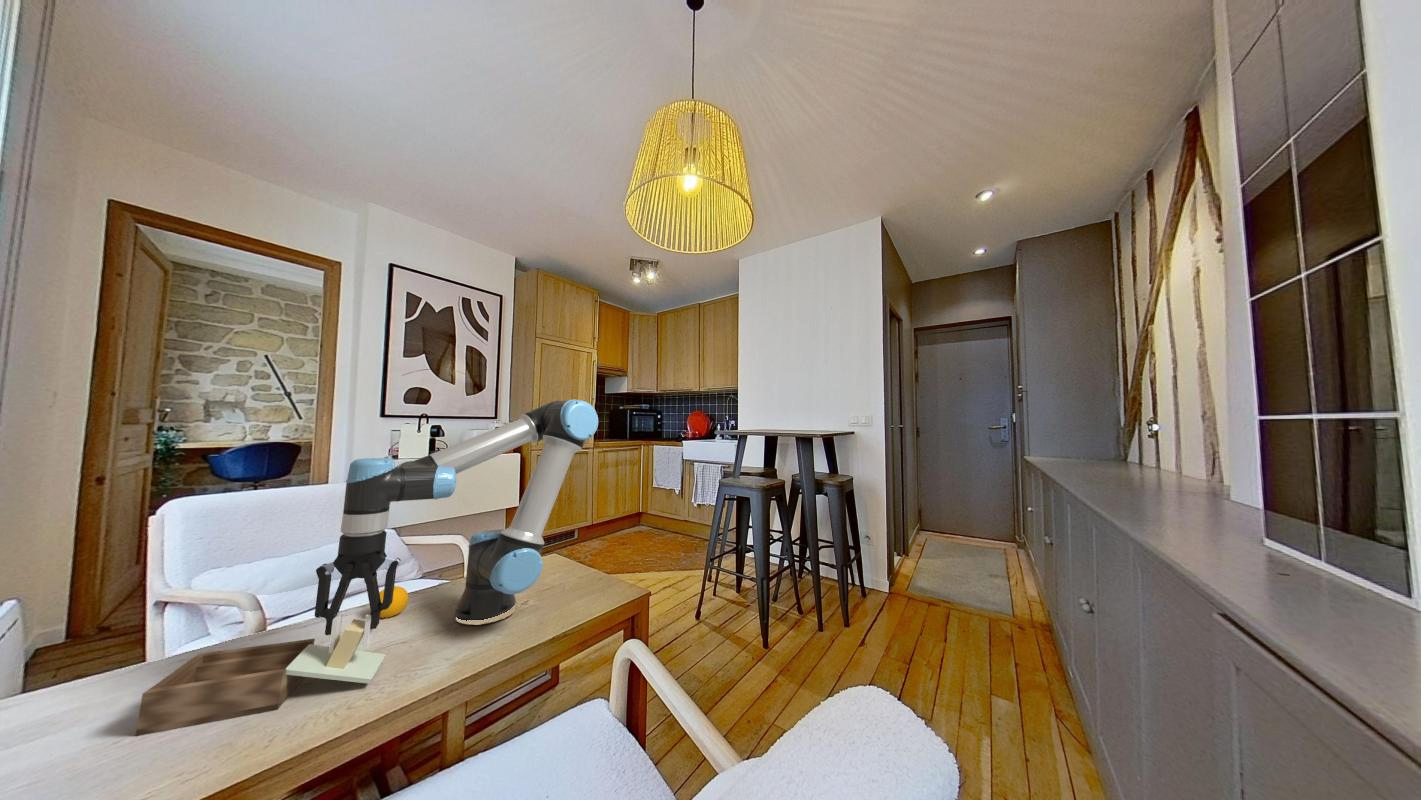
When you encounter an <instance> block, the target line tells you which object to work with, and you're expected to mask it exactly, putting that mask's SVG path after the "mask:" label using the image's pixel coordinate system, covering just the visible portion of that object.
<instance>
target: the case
mask: <svg viewBox="0 0 1421 800" xmlns="http://www.w3.org/2000/svg"><path fill="white" fill-rule="evenodd" d="M315 639H316V638H310V639H309V638H308V639H302V640H294V641H293V640H292V641H285V642H278V643H271V644H265V645H254V646H249V647H247V646H246V647H240V648H239V647H238V648H233V649H225V650H217V651H212V652H211V651H209V652H203V653H198V654H197V655H195V656H194V657H192V658H191V659H190V660H188V661H187V662H185V663H183V664H182V665H181V666H179V667H178V668H177V669H175V670H174V671H173V672H171V673H169V674H168V675H167V676H165V677H164V678H163V679H162V680H160V681H159V682H157V683H156V684H155V685H153V686H151V687H149V689H147V690H145V692H143V693H142V694H141V695H142V696H141V701H140V705H139V706H140V707H139V713H138V719H137V724H136V730H135V735H134V736H135V737H138V736H143V735H148V734H155V733H160V732H164V731H171V730H176V729H181V728H186V727H192V726H197V725H203V724H208V723H212V722H213V723H214V722H217V721H223V720H230V719H235V718H240V717H245V716H251V715H257V714H261V713H268V712H272V711H277V710H279V709H280V708H281V706H282V705H283V704H284V703H285V702H286V701H287V699H288V698H289V697H290V696H291V694H292V693H293V692H295V690H296V689H297V688H298V686H299V685H300V684H302V681H303V680H304V679H305V678H306V677H304V676H294V675H285V674H286V668H287V667H288V666H289V665H290V664H291V663H292V662H293V660H294V659H295V658H296V657H297V656H298V655H299V654H300V653H301V652H302V651H303V650H304V649H305V648H306V647H307V646H308V645H309V644H312V645H315V641H316V640H315Z"/></svg>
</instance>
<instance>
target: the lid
mask: <svg viewBox="0 0 1421 800" xmlns="http://www.w3.org/2000/svg"><path fill="white" fill-rule="evenodd" d="M364 629H365V620H364V619H363V620H361V619H356V618H355V619H352V621H351V622H350V623H349V624H348V626H347V627H345V629H344V630H343V632H342V635H340V640H339V642H338V644H337V646H336V648H335V650H334V652H333V653H330V654H329V646H325V645H320V644H319V645H318V644H314V645H312V644H309V645H308V646H307V647H306V648H305V649H304V650H303V651H302V652H301V653H300V654H299V655H298V656H297V657H296V658H295V659H294V660H293V662H292V663H291V664H290V665H289V666H288V667H287V668H286V674H285V675H294V676H304V677H305V678H313V679H314V678H315V679H323V680H331V681H332V680H334V681H340V682H342V681H343V682H350V683H352V682H353V683H361V684H370V683H371V681H372V680H373V678H374V677H375V675H376V673H377V671H378V670H379V668H380V666H381V664H382V663H383V661H384V659H385V657H386V655H387V654H386V653H379V652H370V651H363V650H357V649H358V648H359V645H360V643H361V641H362V639H363V637H364Z"/></svg>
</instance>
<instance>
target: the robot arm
mask: <svg viewBox="0 0 1421 800" xmlns="http://www.w3.org/2000/svg"><path fill="white" fill-rule="evenodd" d="M598 416H599V415H598V414H597V411H596V409H595V407H594V406H593V405H592V404H590V402H587V401H584V400H580V399H569V400H555V401H551V402H548V403H546V404H543V405H540V406H539V407H537V408H534V409H532V410H530V411H527V412H525V413H522V414H521V415H520V416H519V419H516V420H514V421H511V422H509V423H506V424H504V425H501V426H499V427H496V428H493V429H492V430H489V431H486V432H483V433H482V434H479V435H476V436H473V437H471V438H468V439H466V440H464V441H461V442H459V443H456V444H453V445H451V446H448V447H445V448H444V449H440V450H438V451H435V452H433V453H430V454H428V455H426V456H423V457H419V458H418V459H415V460H414V461H413V460H409V461H405V462H401V463H399V464H398V465H397V466H396V463H395V460H394V459H393V458H384V457H383V458H382V457H380V458H379V457H376V458H375V457H374V458H373V457H370V458H369V457H367V458H365V457H364V458H357V459H354V460H353V461H351V463H350V464H349V469H348V473H347V477H346V481H345V482H346V483H345V493H344V503H343V511H342V518H341V526H340V532H341V535H340V537H339V541H338V543H339V544H338V550H337V556H336V558H335V559H334V560H333V561H332V562H328V563H323V564H322V565H320V566H319V567H317V568H316V569H315V573H316V575H317V578H318V583H317V591H316V592H317V593H316V600H315V609H314V617H315V618H318V619H319V618H324V619H325V621H326V622H325V628H324V629H325V630H324V634H325V636H330V639H329V646H328V647H329V654H330V653H333V652H334V650H335V648H336V646H337V644H338V642H339V640H340V638H341V631H342V623H343V614H344V613H340V609H341V606H342V604H343V601H344V598H345V596H346V594H347V592H348V589H349V586H350V584H351V582H352V580H354V579H363V582H364V584H365V586H366V587H365V588H366V591H367V597H368V602H369V604H368V605H369V607H370V608H369V609H370V610H369V612H367V614H366V615H365V620H364V621H365V629H364V635H363V637H362V639H363V640H362V649H367V648H368V647H369V645H370V644H371V642H372V637H373V630H374V629H375V630H376V629H377V628H378V626H379V624H380V619H381V617H380V612H381V611H382V610H386V609H388V608H389V606H390V605H391V604H392V601H393V592H394V586H395V582H396V574H397V569H398V567H399V565H400V563H401V559H400V558H398V557H397V558H395V559H394V558H391V557H388V556H387V554H386V551H385V550H386V543H387V542H386V541H387V531H386V529H388V526H389V525H388V524H389V515H390V505H391V502H394V503H395V502H405V501H420V500H421V501H423V500H438V499H439V500H440V499H445V498H450V497H451V496H452V495H453V494H454V493H455V490H456V486H457V474H459V473H462V472H464V471H466V470H468V469H471V468H473V467H476V466H478V465H480V464H482V463H484V462H487V461H489V460H491V459H493V458H496V457H499V456H500V455H502V454H505V453H508V452H509V451H512V450H513V449H516V448H518V447H522V446H523V445H525V444H527V443H532V444H535V443H538V442H541V441H544V446H543V448H542V451H541V454H540V456H539V457H538V460H537V462H536V465H535V467H534V469H533V472H532V474H531V476H530V478H529V481H528V483H527V486H526V488H525V491H524V493H523V495H522V497H521V500H520V501H519V505H518V506H517V508H516V512H515V514H514V516H513V519H512V521H511V523H510V525H509V527H507V528H502V529H493V530H483V531H479V532H475V533H473V534H472V535H471V536H470V539H469V545H468V555H467V566H466V567H467V568H466V578H465V587H464V591H463V592H462V595H461V596H460V600H459V601H458V604H457V606H456V609H455V614H454V617H455V616H456V617H457V618H458V619H461V620H466V621H467V620H484V619H488V618H492V617H495V616H498V615H500V614H502V613H505V612H507V611H508V610H510V609H511V608H512V607H513V606H514V605H515V603H516V604H517V600H516V596H515V595H516V594H520V593H522V592H525V591H526V590H527V589H529V588H531V587H533V585H534V584H535V583H536V582H537V581H538V579H539V577H540V576H541V574H542V571H543V566H544V564H543V563H544V561H543V558H542V555H541V553H542V551H543V547H544V546H545V541H544V538H543V533H544V530H545V528H546V525H547V523H548V520H549V519H550V515H551V512H552V510H553V507H554V505H555V502H556V500H557V497H558V495H559V492H560V490H561V488H562V485H563V483H564V480H565V478H566V475H567V473H568V471H569V467H570V465H571V463H572V460H573V457H574V455H575V454H576V453H578V452H581V451H582V449H583V447H584V444H585V442H586V440H588V439H589V438H592V437H593V436H594V434H595V433H596V431H597V430H598V426H599V417H598ZM383 564H384V566H385V567H384V569H385V570H387V571H386V574H385V579H384V580H385V581H384V595H383V602H382V603H381V599H380V593H379V592H380V588H379V582H378V572H377V571H378V569H379V568H380V567H381V566H382V565H383ZM335 569H336V570H337V571H338V573H339V574H340V575H341V577H340V580H339V582H338V585H337V589H336V592H335V593H334V596H333V598H332V602H331V603H330V605H329V601H330V591H331V582H332V573H334V571H335ZM328 607H329V608H328Z"/></svg>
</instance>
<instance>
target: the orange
mask: <svg viewBox="0 0 1421 800" xmlns="http://www.w3.org/2000/svg"><path fill="white" fill-rule="evenodd" d="M379 593H380V599H381V603H382V602H383V595H384V589H382V590H381V591H379ZM409 598H410V597H409V593H408V590H406V589H405V588H403V587H401V586H398V585H397V586H396V585H394V592H393V601H392V604H391V605H390V606H389V608H388V609H386V610H382V611H381V612H380V619H381V618H382V619H383V618H384V617H385V618H391V617H394V615H395V616H397V615H399V614H401V613H402V612H403V611H404V610H405V608H407V605H408V603H409Z"/></svg>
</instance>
